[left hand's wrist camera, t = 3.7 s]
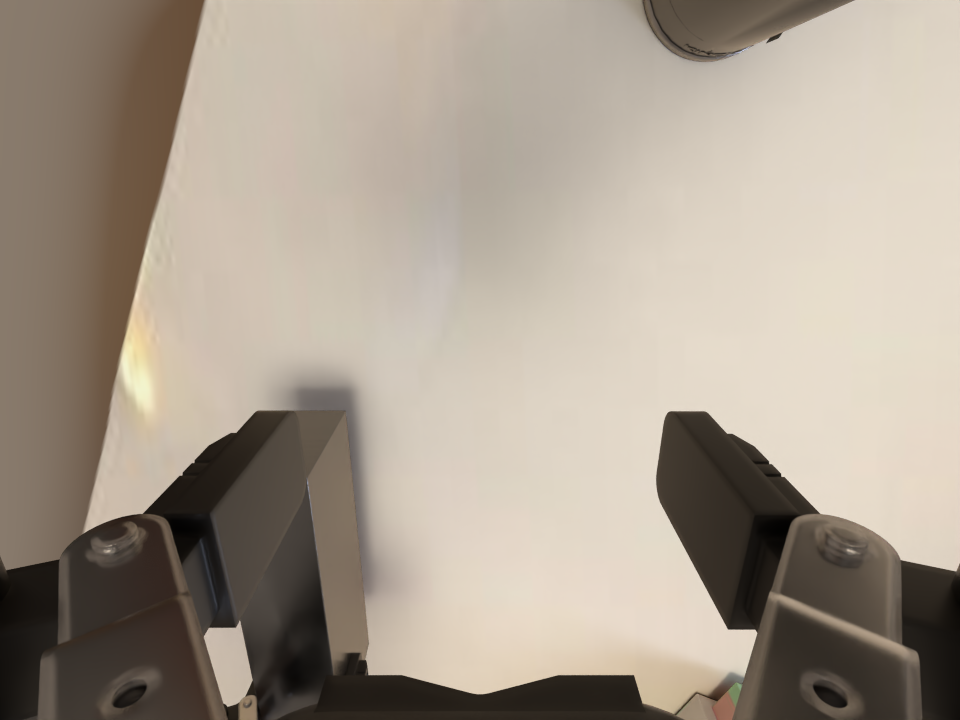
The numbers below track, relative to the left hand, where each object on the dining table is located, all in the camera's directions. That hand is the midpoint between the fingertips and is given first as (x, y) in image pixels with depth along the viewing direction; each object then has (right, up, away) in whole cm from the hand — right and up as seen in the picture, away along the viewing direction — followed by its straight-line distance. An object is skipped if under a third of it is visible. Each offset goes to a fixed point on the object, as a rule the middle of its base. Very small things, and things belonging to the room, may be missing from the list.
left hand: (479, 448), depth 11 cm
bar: (-13, -13, +31) cm, 36 cm away
